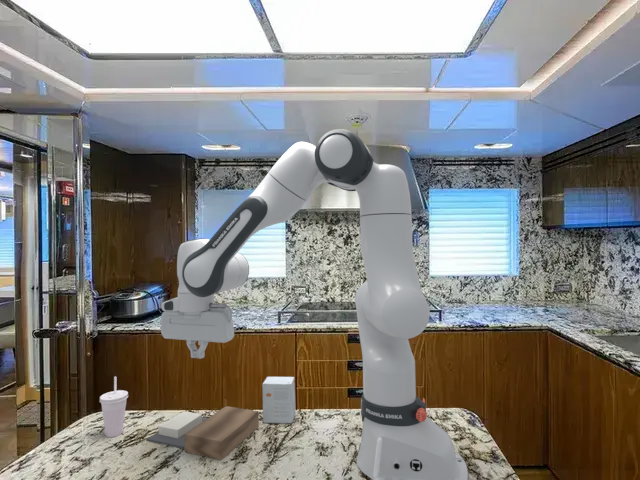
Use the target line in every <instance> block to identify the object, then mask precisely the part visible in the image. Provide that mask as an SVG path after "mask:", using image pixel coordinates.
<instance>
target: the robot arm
mask: <svg viewBox="0 0 640 480" xmlns="http://www.w3.org/2000/svg"><path fill="white" fill-rule="evenodd" d="M408 182H409V181H408V179H407V175H406V173H405V171H404V170H403V169H402V168H400V167H399V166H397V165H393V164H386V163H384V164H382V163H381V164H380V163H376V162H375V160H374V158H373V156H372V154H371V152H370V150H369V148H368V146H367V145H366V144H365V143H364V141H363V140H362V139H361V138H360V137H359V136H358V135H357V134H356V133H354V132H353V131H351V130H348V129H343V128H336V129H332V130H329V131H327V132H326V133H325V134H323V135H322V136H320V139H319V140H318V141H317V143H316V146H315V145H314V144H312V143H310V142H306V141H298V142H296V143H295V142H294V144H292V145H291V146H290V147H289V148H288V149H287V150H286V151H285V152H284V153H283V154H282V155H281V157H279V159H278V160H277V161H276V162H275V163H274V164H273V166H272V167H271V168H270V170H269V171H268V172H267V174H266V175H265V177H264V178H263V179H262V180H261V182H260V183H259V184H258V185H257V187H256V188H255V189H254V191H253V192H252V193H250V195H248V197H247V198H245V199H244V201H243V202H242V203H241V204H240V205H238V207H237V208H235V210H234V211H233V212H232V213H231V214H230V216H228V218H226V220H225V221H224V222H223V223H222V225H221V226H220V227H219V228H218V229H217V231H216V232H215V233H214V234H213V235H212V237H211V238H210V239H209V238H205V237H204V238H203V237H201V238H193V239H189V240H186V241H183V242H182V243H181V244H180V245H179V247H178V251H177V258H176V259H177V260H176V261H177V262H176V274H177V275H176V276H177V279H178V288H177V297H174V298H170V299H169V300H166V301H163V302H162V303H161V305H160V306H161V310H162V311H163V312H162V313H161V316H160V318H161V319H160V332H161V336H162V337H163V338H164V339H167V340H168V339H169V340H182V341H186V345H187V348H188V349H189V351H190V358H192V359H204V358H205V355H206V354H205V351H206V349H207V347H208V344H209V343H211V342H212V343H221V344H225V343H228V342H229V341H232V340H233V339H234V337H235V329H234V321H233V311H232V308H231V307H230V306H229V305H227V303H216V302H215V294H217V293H221V292H226V291H229V290H233V289H236V288H239V287H241V286H243V284H245V283H246V282H247V280H248V278H249V275H250V266H249V262H248V260H247V258H246V257H245V256H244V255H243V254H242V253H240V252H239V251H240V250H241V249H242V247H244V245H245V244H246V243H247V242H248V241H249V239H250V238H251V237H252V236H253V235H254V234H256V233H257V232H259V231H261V230H263V229H265V228H268V227H270V226H273V225H278V224H280V223H284V222H287V221H289V220H290V219H291V218H292V217H293V216H294V215H296V214H297V213H299V212H298V211H300V210H301V209H302V207H303V206H304V205H305V203H306V202H307V200H308V199H309V198H310V196H312V194H313V193H314V191H315V190H316V188H318V187H319V186H321V185H322V184H325V183H327V184H328V185H330V186H333V187H335V188H339V189H340V190H344V191H347V192H356V193H357V196H358V198H359V199H358V201H359V227H360V228H359V230H360V231H359V233H360V256H361V257H362V260H363V264H364V265H363V266H364V270H365V276H366V281H365V282H363V283H361V285H360V286H359V287H358V288H357V290H356V291H355V295H354V296H355V297H354V304H355V305H354V306H355V308H356V317H357V327H358V328H357V329H358V335H359V342H360V348H361V354H362V357H361V358H362V385H363V389H362V395H361V399H360V416H361V422H362V431H361V440H360V445H359V448H358V449H359V450H358V454H357V457H356V465H357V467H358V468H359V470H360V471H361V472H362V473H363V474H364V475H365V476H367V477H368V478H370V479H371V480H469V472H468V467H467V464H466V461H465V460H464V458H463V457H462V456H461V455H460V454H459V453H456V451H455V447H454V444H453V441H452V438H451V436H450V435H449V433H448V432H446V431H445V430H444V429H443V428H441V426H440V425H438V424H436V423H435V422H434V421H433V419H430V418H429V417H428V412H427V403H426V399H425V398H424V397H422V400H421V399H420V397H418V396H417V395H416V394H417V393H416V392H417V391H416V388H417V387H416V361H415V357H414V354H413V352H412V348H411V345H410V341H409V339H413V338H417V336H419V335H421V333H423V332H424V331H425V329H426V327H427V326H428V324H429V321H430V316H431V313H430V306H429V304H428V301H427V299H426V297H425V296H424V294H423V291H422V288H421V282H420V279H419V274H418V270H417V269H418V268H417V266H416V265H417V264H416V262H415V261H416V260H415V256H414V248H413V246H414V245H413V227H412V226H413V225H412V224H413V223H412V221H413V219H412V217H413V216H412V202H411V194H410V187H409V183H408ZM197 342H198V346H199V347H197V346H196V343H197Z"/></svg>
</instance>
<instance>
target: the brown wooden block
mask: <svg viewBox="0 0 640 480" xmlns="http://www.w3.org/2000/svg"><path fill="white" fill-rule="evenodd" d="M259 414H260V413H259V411H258V410H252V409H246V408H239V407H234V406H227V405H225V406H224V407H222V408H221V409H219V410H218V411H217V412H215V413H214V414H211V415H210V416H209V417H207V418H208V419H206V420H205V421H203V422H202V423H200V424H199V425H197V426H196V427H194V428H193V429H192V430H190V431H189V432H187V433H186V434H185V449H184V452H185V453H187V454H192V455H197V456H200V457H201V456H202V457H206V458H211V459H216V460H220V461H223V460H224V458H226V457H227V456H228V455H229V454H230V453H231V452H233V451H234V450H235V449H236V448H237V447H238V446H239V445H240V444H242V442H244V441H245V440H246V439H247V438H248V437H249V436H251V434H253V433H254V432H255V431H256V430H257V429H258V428H260V427H259V426H260V425H259V424H260V423H259V422H260V421H259V420H260V419H259Z"/></svg>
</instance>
